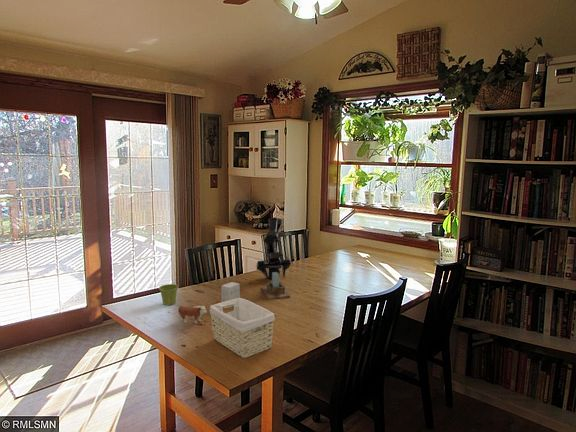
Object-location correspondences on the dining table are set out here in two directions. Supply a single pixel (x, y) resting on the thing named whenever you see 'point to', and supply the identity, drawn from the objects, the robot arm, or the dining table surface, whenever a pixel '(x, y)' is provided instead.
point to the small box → (230, 291)
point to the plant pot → (168, 293)
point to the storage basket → (242, 326)
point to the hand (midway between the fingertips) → (275, 278)
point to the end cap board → (275, 291)
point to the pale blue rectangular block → (275, 279)
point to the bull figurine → (192, 312)
